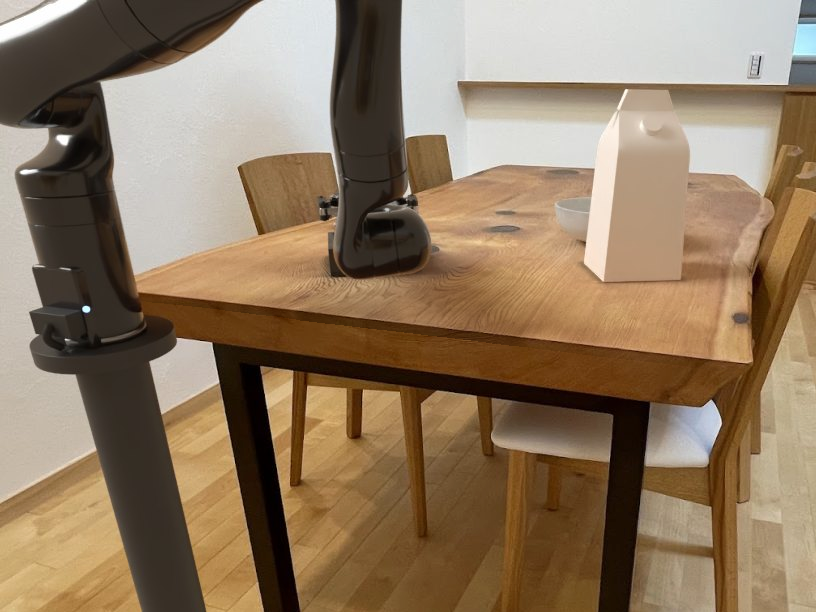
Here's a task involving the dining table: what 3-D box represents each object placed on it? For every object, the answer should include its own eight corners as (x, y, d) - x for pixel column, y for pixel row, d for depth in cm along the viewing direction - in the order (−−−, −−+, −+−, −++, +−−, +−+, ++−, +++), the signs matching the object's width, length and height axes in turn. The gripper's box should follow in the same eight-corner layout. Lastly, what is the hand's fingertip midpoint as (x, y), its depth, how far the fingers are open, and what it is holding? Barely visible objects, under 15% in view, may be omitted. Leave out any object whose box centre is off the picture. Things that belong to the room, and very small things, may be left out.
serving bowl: (669, 258, 111) (674, 217, 109) (546, 252, 115) (547, 211, 112) (665, 234, 130) (669, 198, 127) (559, 229, 133) (561, 194, 131)
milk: (654, 261, 109) (672, 90, 99) (680, 279, 99) (704, 90, 88) (583, 263, 108) (594, 88, 97) (603, 282, 97) (617, 89, 87)
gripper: (425, 187, 87) (411, 173, 102) (313, 189, 84) (315, 174, 98) (427, 244, 90) (413, 222, 105) (319, 248, 87) (320, 225, 101)
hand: (365, 199), depth 102 cm, fingers open, 8 cm apart
